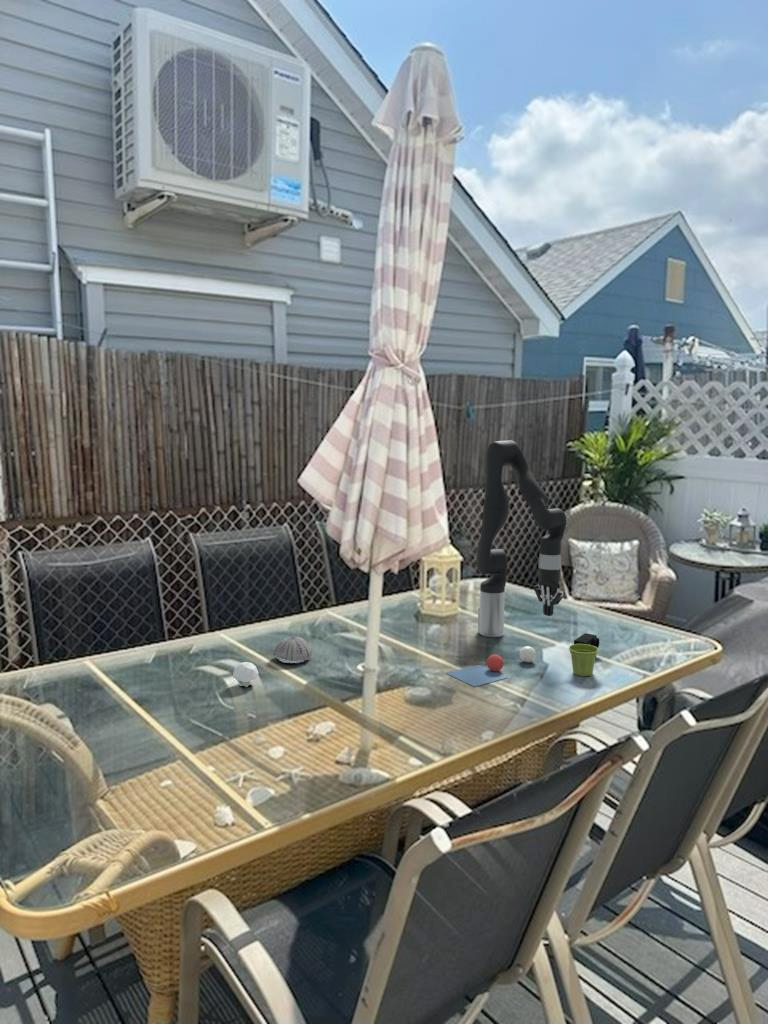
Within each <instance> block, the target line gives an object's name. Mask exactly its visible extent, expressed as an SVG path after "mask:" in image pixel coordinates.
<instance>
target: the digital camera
mask: <svg viewBox="0 0 768 1024" xmlns="http://www.w3.org/2000/svg"><path fill="white" fill-rule="evenodd" d="M573 644H587V645H592V646H595V647H597V648H598V649H599V646H600V638H599V637H597V634H593V633H587V632H585V633H583V634H582V635H581V636H579V637H577V638H576V639H574V640H573Z"/></svg>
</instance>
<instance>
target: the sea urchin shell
mask: <svg viewBox="0 0 768 1024" xmlns="http://www.w3.org/2000/svg"><path fill="white" fill-rule="evenodd" d="M273 654H275V655H276V656H277V657H279V658H282V659H285V660H290V661H293V660H294V661H297V660H305V659H307V658H309V657H310V658H312V657H311V656H312V655H313V649H312V648H311V645H309V643H308V641H306V639H304V638H302V637H300V636H288V637H284V639H282V640H280V641H279V642H278V644H276V646H275V647H274V649H273Z"/></svg>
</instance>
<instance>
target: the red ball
mask: <svg viewBox="0 0 768 1024" xmlns="http://www.w3.org/2000/svg"><path fill="white" fill-rule="evenodd" d="M486 665H487V669H490V670H492V671H494V672H500V671H501V670H502V669H503V667H504V659H503V657H501V656H500V655H499V654H490V656H488V658H487V660H486Z"/></svg>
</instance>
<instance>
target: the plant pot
mask: <svg viewBox="0 0 768 1024" xmlns="http://www.w3.org/2000/svg"><path fill="white" fill-rule="evenodd" d="M568 650H569V652H570V655H571V656H570V658H571V664H572V673H573V674H575V675H576V674H577V675H581V676H580V677H582V676H585V677H587V676H588V677H590V676H589V675H591V676H592V675H593V673H594V667H595V663H596V662H595V660H596V657H597V653H598V652H599V647H598V648H597V647H595V646H592V645H587V644H574V643H572V644H571V645H569V646H568ZM577 675H576V676H577Z"/></svg>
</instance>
